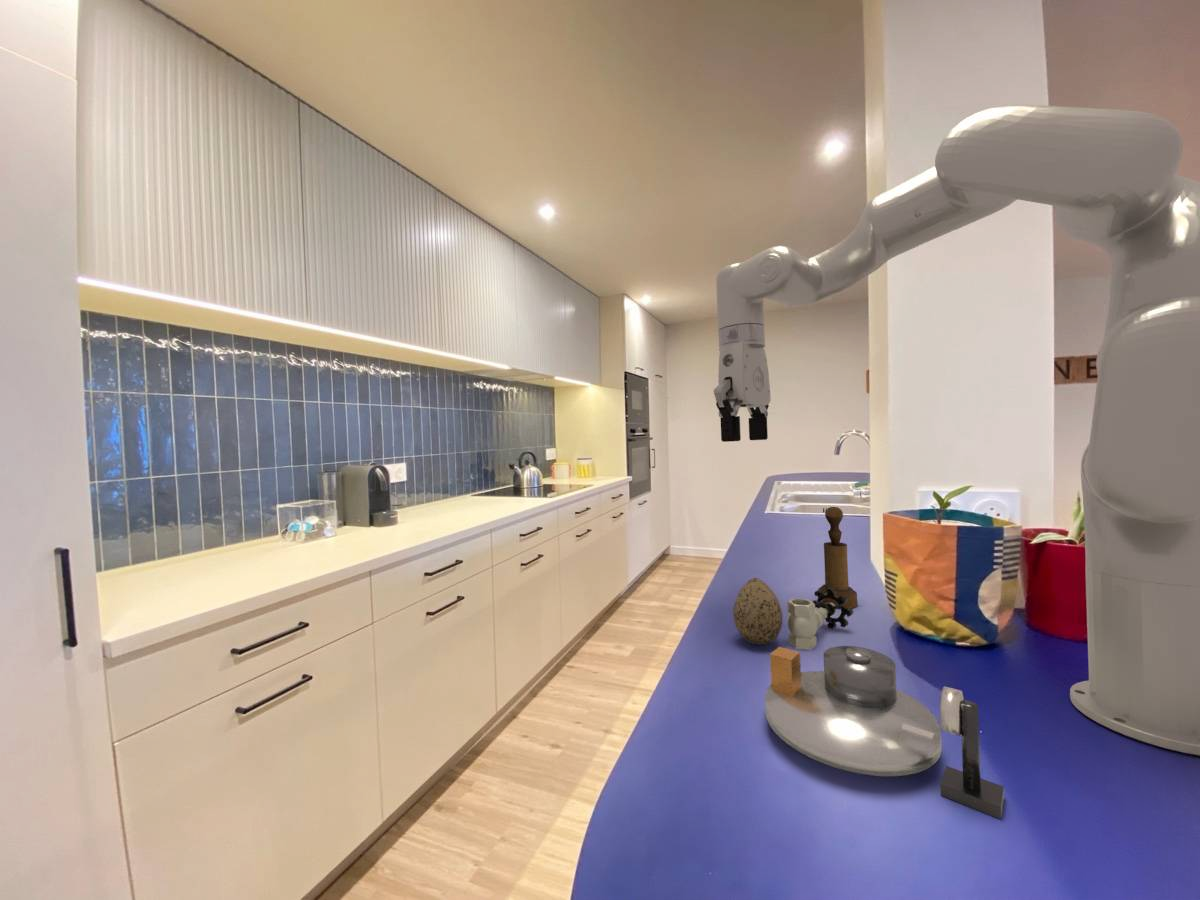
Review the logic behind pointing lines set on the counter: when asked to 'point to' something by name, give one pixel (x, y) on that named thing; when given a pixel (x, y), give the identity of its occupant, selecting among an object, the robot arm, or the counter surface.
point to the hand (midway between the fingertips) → (745, 440)
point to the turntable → (848, 724)
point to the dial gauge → (967, 757)
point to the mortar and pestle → (837, 561)
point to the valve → (814, 617)
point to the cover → (860, 676)
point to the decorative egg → (757, 613)
